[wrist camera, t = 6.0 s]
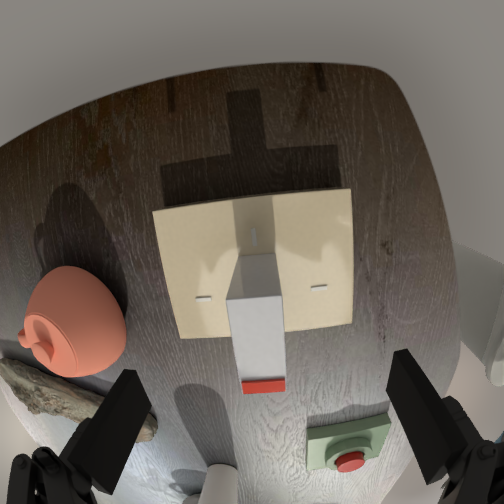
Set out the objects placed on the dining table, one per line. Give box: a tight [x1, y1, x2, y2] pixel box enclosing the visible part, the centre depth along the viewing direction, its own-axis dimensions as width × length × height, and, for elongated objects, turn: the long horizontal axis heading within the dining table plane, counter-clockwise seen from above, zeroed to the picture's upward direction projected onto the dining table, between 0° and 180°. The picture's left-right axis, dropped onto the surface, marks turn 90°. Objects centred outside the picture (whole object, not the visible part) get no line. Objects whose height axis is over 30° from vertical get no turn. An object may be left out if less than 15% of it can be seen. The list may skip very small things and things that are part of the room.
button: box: [336, 451, 365, 472], centre depth 28 cm, size 4×4×2 cm
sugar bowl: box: [18, 266, 127, 377], centre depth 23 cm, size 12×14×10 cm
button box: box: [306, 413, 391, 471], centre depth 31 cm, size 12×10×4 cm
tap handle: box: [225, 253, 288, 394], centre depth 19 cm, size 7×3×8 cm, turn 6°
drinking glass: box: [198, 464, 238, 504], centre depth 29 cm, size 7×7×15 cm
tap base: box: [153, 187, 354, 338], centre depth 24 cm, size 16×14×3 cm
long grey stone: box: [0, 358, 158, 443], centre depth 31 cm, size 35×5×10 cm
